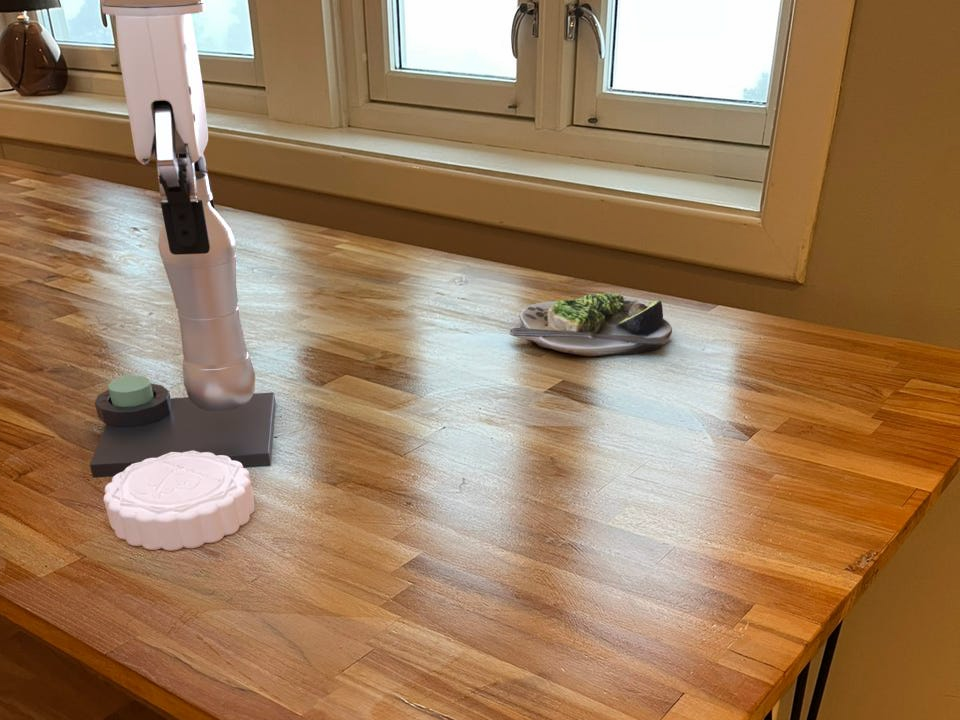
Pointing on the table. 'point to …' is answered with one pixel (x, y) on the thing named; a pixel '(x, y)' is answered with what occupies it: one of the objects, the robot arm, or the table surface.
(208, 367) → the plastic bottle
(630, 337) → the salad plate
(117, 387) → the button
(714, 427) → the table surface
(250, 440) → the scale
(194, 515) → the mooncake
